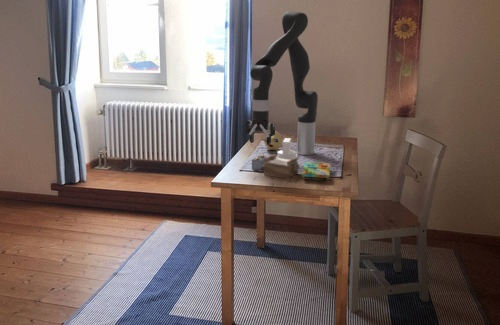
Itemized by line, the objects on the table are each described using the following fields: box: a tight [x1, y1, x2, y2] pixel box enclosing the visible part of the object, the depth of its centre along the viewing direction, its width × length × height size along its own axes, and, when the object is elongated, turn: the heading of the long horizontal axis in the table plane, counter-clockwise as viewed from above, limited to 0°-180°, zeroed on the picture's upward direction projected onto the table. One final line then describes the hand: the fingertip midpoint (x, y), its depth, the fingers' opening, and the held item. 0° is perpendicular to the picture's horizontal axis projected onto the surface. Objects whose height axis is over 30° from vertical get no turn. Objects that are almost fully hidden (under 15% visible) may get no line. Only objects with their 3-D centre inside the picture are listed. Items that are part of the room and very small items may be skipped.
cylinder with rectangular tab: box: [276, 137, 297, 160], centre depth 235 cm, size 9×9×12 cm
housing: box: [251, 154, 268, 171], centre depth 228 cm, size 8×4×6 cm, turn 154°
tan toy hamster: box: [264, 130, 284, 152], centre depth 262 cm, size 10×12×11 cm
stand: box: [263, 153, 299, 179], centre depth 218 cm, size 10×12×8 cm
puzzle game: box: [301, 161, 332, 181], centre depth 216 cm, size 12×5×20 cm
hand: (260, 143), depth 225 cm, fingers open, 8 cm apart
